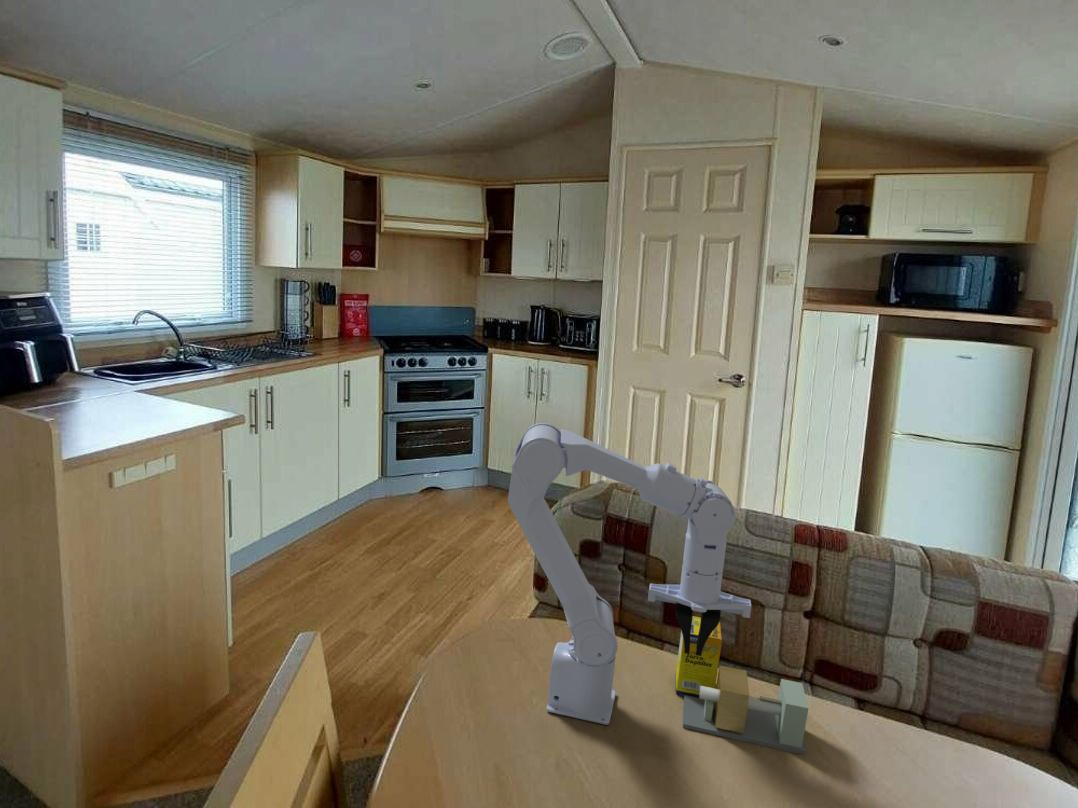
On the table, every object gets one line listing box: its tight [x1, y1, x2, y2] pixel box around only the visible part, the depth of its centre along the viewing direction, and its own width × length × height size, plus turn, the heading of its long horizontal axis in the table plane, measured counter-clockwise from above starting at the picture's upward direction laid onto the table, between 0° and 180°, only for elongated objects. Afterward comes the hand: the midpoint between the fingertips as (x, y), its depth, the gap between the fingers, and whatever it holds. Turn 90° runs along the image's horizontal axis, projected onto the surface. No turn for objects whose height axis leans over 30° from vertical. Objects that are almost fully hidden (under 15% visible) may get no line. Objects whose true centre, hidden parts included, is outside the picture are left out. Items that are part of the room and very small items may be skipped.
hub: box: [714, 664, 750, 733], centre depth 96 cm, size 4×6×6 cm, turn 166°
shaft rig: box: [682, 678, 809, 756], centre depth 96 cm, size 17×7×7 cm, turn 76°
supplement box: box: [675, 615, 723, 698], centre depth 104 cm, size 6×6×11 cm
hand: (692, 651), depth 97 cm, fingers closed
